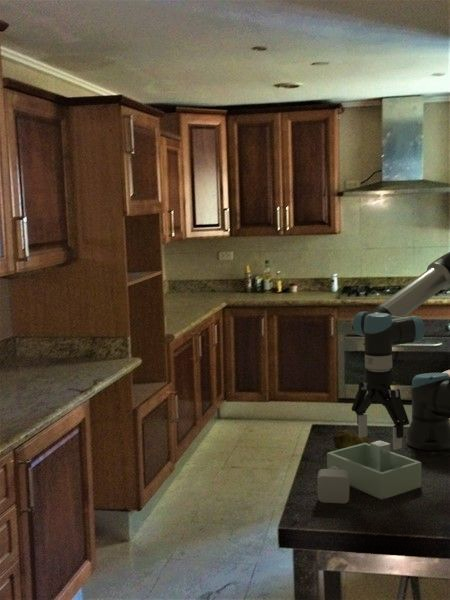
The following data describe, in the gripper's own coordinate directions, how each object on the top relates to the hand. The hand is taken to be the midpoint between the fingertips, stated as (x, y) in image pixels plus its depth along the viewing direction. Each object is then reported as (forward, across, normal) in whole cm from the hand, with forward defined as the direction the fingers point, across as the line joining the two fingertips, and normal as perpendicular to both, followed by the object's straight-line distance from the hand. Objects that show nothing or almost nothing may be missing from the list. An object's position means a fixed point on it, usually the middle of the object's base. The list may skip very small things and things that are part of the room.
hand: (379, 442), depth 206 cm
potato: (+11, -20, +8) cm, 24 cm away
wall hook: (+11, +2, -19) cm, 22 cm away
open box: (+11, 0, -3) cm, 11 cm away
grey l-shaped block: (+10, 0, -3) cm, 11 cm away
